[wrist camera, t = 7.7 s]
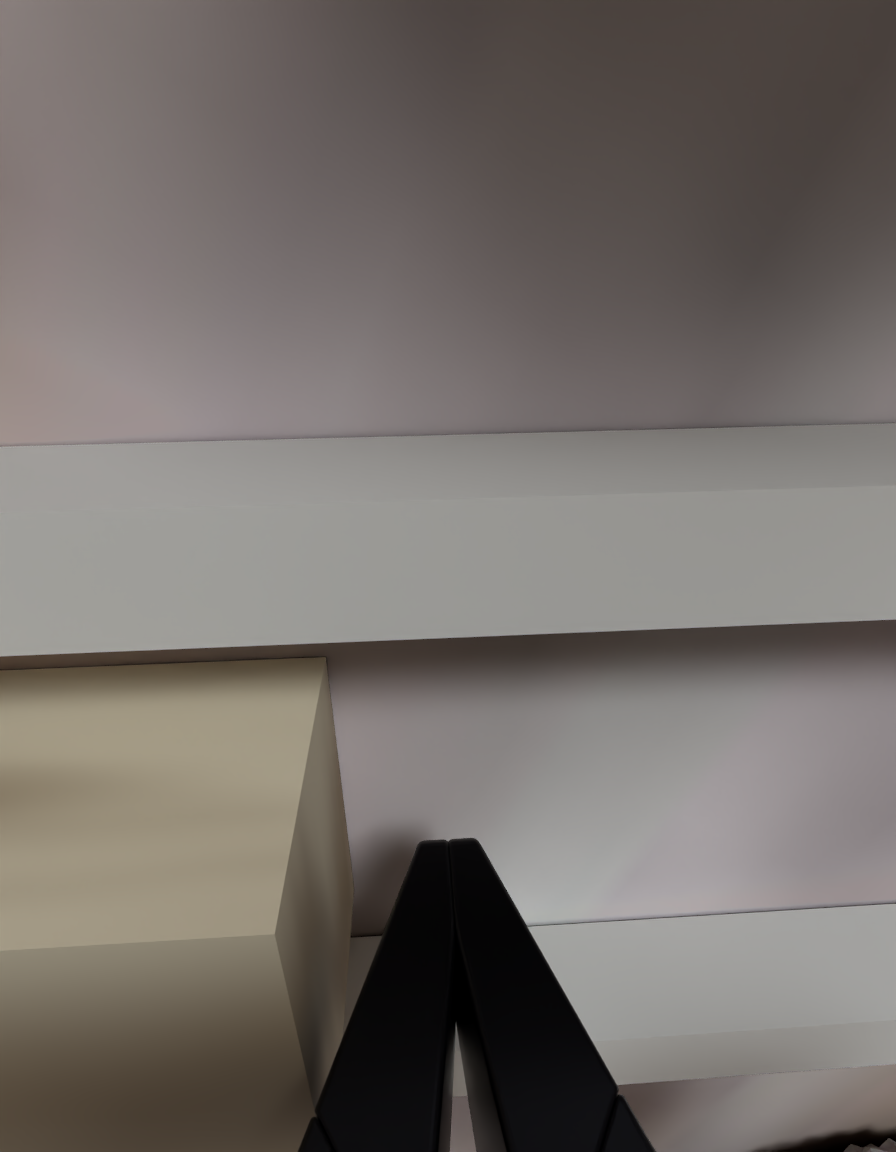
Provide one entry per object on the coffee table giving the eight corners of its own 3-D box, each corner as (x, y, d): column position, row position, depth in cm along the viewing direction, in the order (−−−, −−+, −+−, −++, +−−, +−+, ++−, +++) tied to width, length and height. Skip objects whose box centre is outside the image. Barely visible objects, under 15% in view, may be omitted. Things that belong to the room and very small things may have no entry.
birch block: (353, 888, 11) (330, 1184, 8) (63, 905, 11) (-94, 1218, 8) (325, 656, 9) (274, 935, 5) (-46, 672, 9) (-346, 971, 5)
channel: (926, 945, 13) (1006, 1056, 12) (-79, 1012, 12) (-159, 1143, 11) (1233, 414, 8) (1466, 467, 6) (-480, 459, 7) (-774, 537, 5)
